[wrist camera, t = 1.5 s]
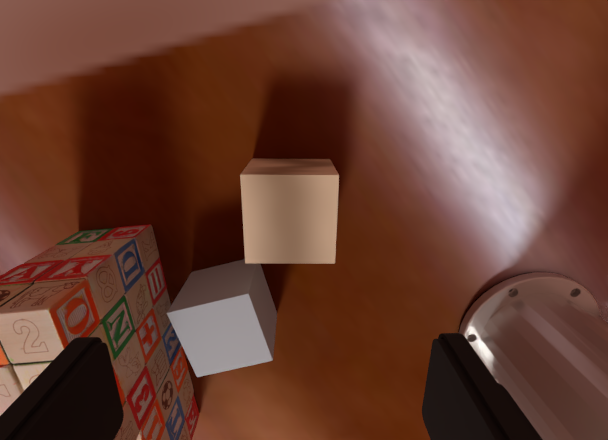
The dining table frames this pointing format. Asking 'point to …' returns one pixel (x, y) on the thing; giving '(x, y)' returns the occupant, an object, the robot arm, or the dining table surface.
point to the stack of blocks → (101, 326)
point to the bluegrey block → (225, 318)
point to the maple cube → (289, 210)
